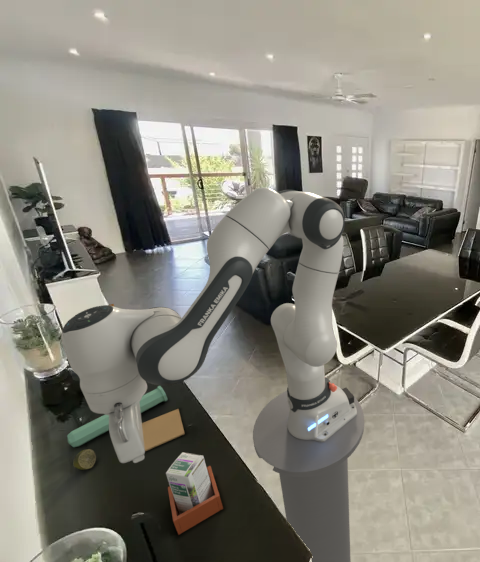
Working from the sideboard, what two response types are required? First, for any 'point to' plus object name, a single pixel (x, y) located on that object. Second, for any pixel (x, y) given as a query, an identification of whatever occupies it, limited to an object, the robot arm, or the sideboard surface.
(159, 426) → the mat
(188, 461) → the syrup box
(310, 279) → the robot arm
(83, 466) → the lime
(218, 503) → the holder
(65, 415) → the sideboard surface
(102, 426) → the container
